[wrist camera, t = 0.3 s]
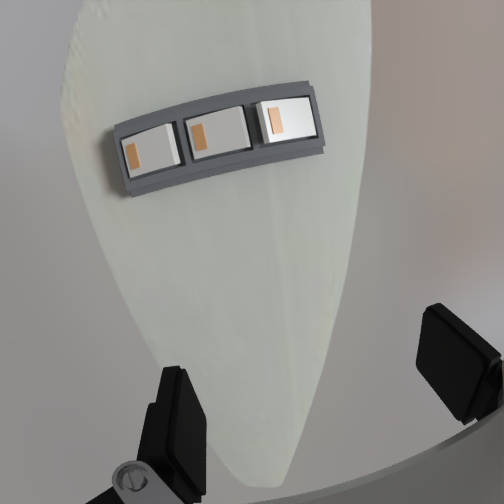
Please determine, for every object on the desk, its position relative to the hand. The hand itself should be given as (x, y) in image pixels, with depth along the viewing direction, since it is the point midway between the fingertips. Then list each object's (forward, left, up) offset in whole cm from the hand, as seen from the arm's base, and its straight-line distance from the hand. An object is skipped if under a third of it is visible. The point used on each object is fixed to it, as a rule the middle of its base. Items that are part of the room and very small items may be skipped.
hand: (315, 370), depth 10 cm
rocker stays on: (+3, -13, -24) cm, 28 cm away
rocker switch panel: (-4, -10, -29) cm, 31 cm away
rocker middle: (-4, -10, -24) cm, 26 cm away
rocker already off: (-10, -6, -24) cm, 27 cm away
